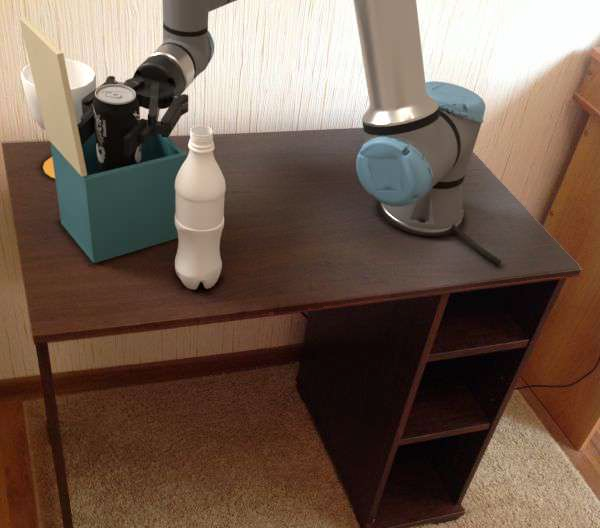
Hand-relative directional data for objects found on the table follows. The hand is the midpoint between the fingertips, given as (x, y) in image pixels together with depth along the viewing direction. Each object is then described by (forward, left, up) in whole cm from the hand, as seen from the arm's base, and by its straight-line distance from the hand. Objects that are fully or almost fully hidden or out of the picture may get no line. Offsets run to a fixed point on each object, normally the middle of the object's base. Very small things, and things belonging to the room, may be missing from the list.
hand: (102, 141), depth 108 cm
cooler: (+3, -4, -18) cm, 19 cm away
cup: (+24, -4, -18) cm, 31 cm away
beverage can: (+3, -4, -7) cm, 9 cm away
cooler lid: (+3, +5, +6) cm, 8 cm away
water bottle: (-14, -8, -18) cm, 24 cm away
